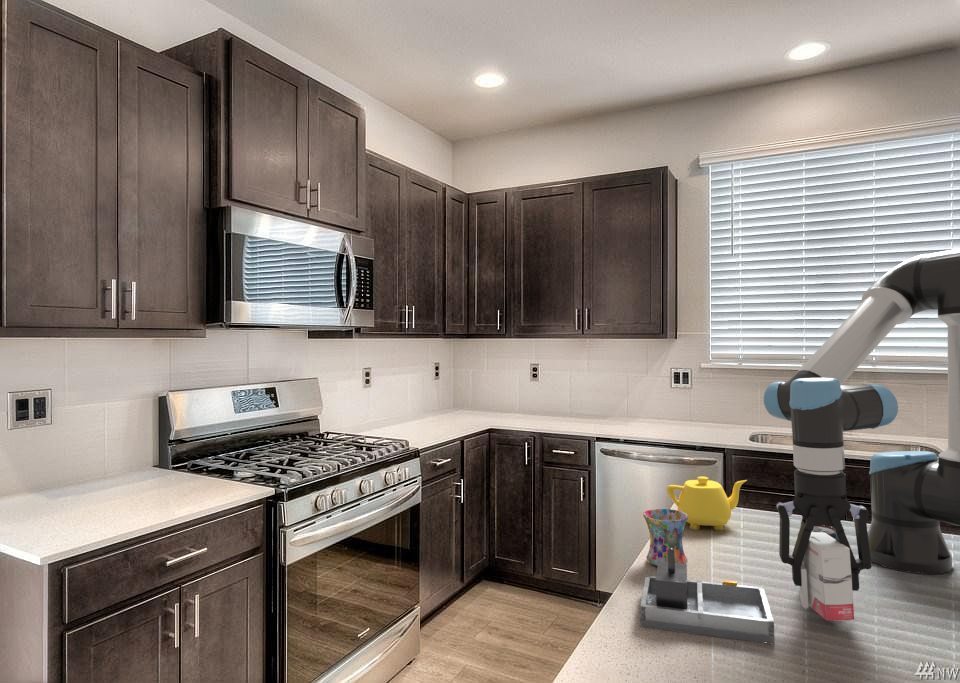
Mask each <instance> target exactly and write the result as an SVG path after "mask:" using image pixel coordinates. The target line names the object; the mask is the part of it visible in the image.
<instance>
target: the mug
mask: <svg viewBox="0 0 960 683" xmlns="http://www.w3.org/2000/svg"><path fill="white" fill-rule="evenodd" d="M642 516H643V518H644V520H645V522H646V525H647V529H648V532H649V548H648V552H647V555H646V561H647V562H648V563H650V564H652V565H653V566H656V567H658V561H660V562H668V554H667V550H668V549H669V548H673V549H674V553H675V563H682V564H687V563H688V558H687V556H686V554H685V551H684V545H683V535H684V529H685V526H686V524H687V522H686V521H687V519H688V516H687V514H686V513H684V512H681V511H678V509H672V508H652V509H647V510H645V511H644V512H643V514H642Z"/></svg>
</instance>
